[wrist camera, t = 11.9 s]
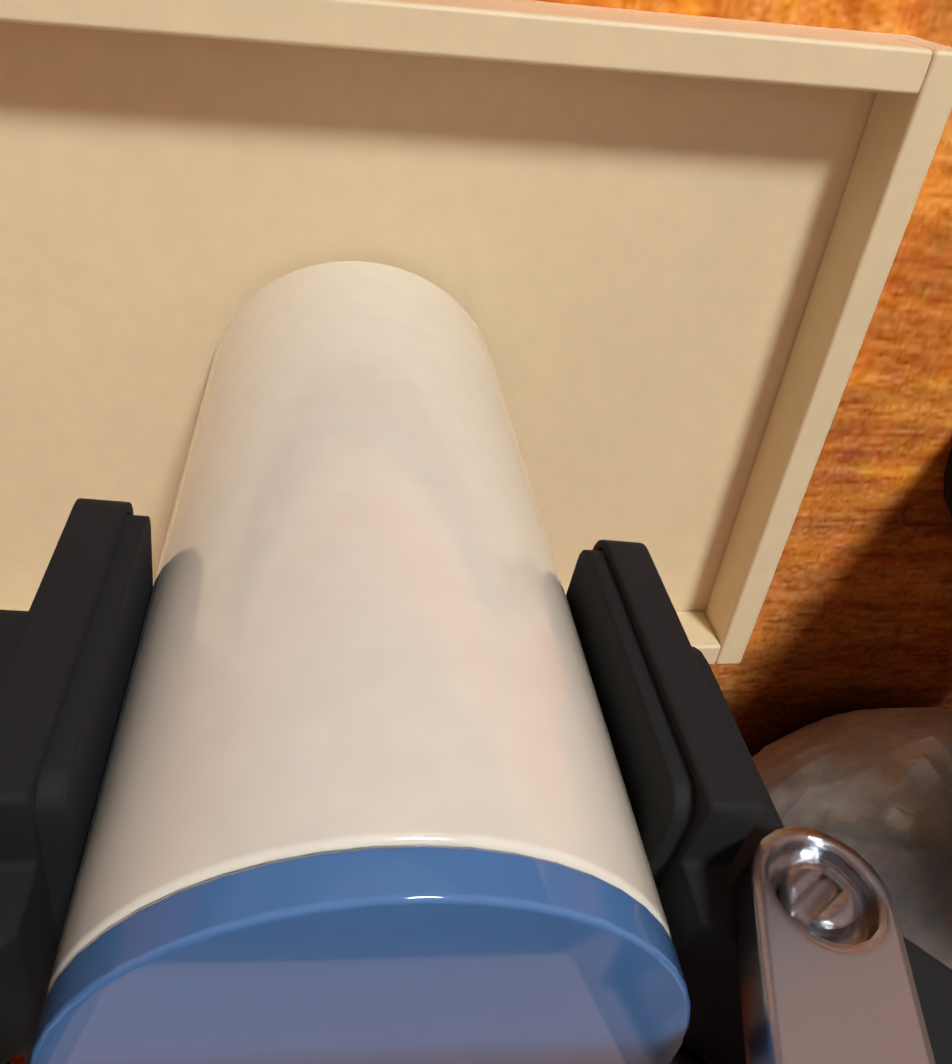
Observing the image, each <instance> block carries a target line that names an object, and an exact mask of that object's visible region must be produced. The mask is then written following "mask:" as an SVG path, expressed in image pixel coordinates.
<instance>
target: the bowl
mask: <svg viewBox="0 0 952 1064" xmlns="http://www.w3.org/2000/svg"><path fill="white" fill-rule="evenodd" d="M752 759H753V761H754V763H755V765H756V767H757V769H758V772H759V774H760V776H761V778H762V780H763V782H764V785H765V787H766V789H767V791H768V793H769V795H770V797H771V800H772V802H773V804H774V806H775V808H776V810H777V813H778V815H779V817H780V819H781V821H782V823H783V826H784V828H788V827H801V828H809V829H814V830H817V831H820V832H822V833H825V834H827V835H830V836H833V837H835V838H836V839H838V840H839V841H841V842H843V843H844V844H846V845H847V846H849V847H850V848H852V849H854V850H855V851H856V852H857V853H858V854H859V855H860V856H861V857H862V858H863V859H865V860H866V861H867V862H868V863H869V864H870V865H871V866H872V867H873V868H874V870H875V871H876V872H877V874H878V875H879V877H880V878H881V879H882V881H883V882H884V884H885V885H886V886H887V888H888V891H889V893H890V896H891V898H892V901H893V903H894V906H895V908H896V912H897V916H898V920H899V924H900V927H901V931H902V935H903V936H904V937H905V938H907V939H908V940H910V941H911V942H912V943H914V944H915V945H917V946H918V947H920V948H921V949H923V950H924V951H926V952H927V953H928V954H930V955H931V956H933V957H934V958H936V959H937V960H939V961H940V962H942V963H943V964H944V965H946V966H947V967H949V968H950V969H952V708H943V707H914V708H880V709H863V710H857V711H852V712H847V713H842V714H837V715H833V716H830V717H826V718H823V719H821V720H820V721H817V722H813V723H811V724H808V725H806V726H804V727H802V728H800V729H798V730H796V731H794V732H792V733H790V734H788V735H786V736H784V737H782V738H780V739H779V740H777V741H775V742H773V743H771V744H769V745H767V746H765V747H764V748H763V749H762V750H761V751H760V752H759V753H757V754H756V755H754V756H753V757H752Z"/></svg>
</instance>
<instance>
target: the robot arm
mask: <svg viewBox="0 0 952 1064" xmlns="http://www.w3.org/2000/svg"><path fill="white" fill-rule="evenodd" d="M152 590H153V570H152V543H151V522H150V517H149V516H141V515H134V514H133V507H132V504H131V503H130V502H123V501H111V500H98V499H86V498H79V499H77V500H76V502H75V504H74V505H73V508H72V510H71V512H70V515H69V517H68V520H67V522H66V524H65V527H64V529H63V531H62V534H61V536H60V538H59V541H58V543H57V546H56V548H55V550H54V553H53V555H52V557H51V560H50V562H49V564H48V567H47V569H46V572H45V574H44V576H43V579H42V581H41V583H40V586H39V588H38V590H37V593H36V595H35V598H34V600H33V602H32V605H31V607H30V609H29V611H18V610H0V1064H10V1060H11V1059H12V1058H13V1057H14V1056H16V1055H17V1054H18V1053H19V1052H21V1051H22V1050H23V1049H24V1048H25V1047H27V1046H28V1045H29V1044H30V1043H32V1042H33V1041H34V1038H35V1035H36V1031H37V1027H38V1023H39V1019H40V1016H41V1012H42V1008H43V1004H44V1001H45V997H46V993H47V989H48V985H49V981H50V978H51V974H52V970H53V966H54V962H55V959H56V955H57V951H58V947H59V943H60V940H61V936H62V932H63V928H64V924H65V921H66V917H67V913H68V909H69V905H70V902H71V898H72V894H73V890H74V886H75V883H76V879H77V875H78V871H79V867H80V864H81V860H82V856H83V852H84V848H85V845H86V841H87V837H88V833H89V829H90V826H91V822H92V818H93V814H94V810H95V807H96V803H97V799H98V795H99V791H100V788H101V784H102V780H103V776H104V772H105V769H106V765H107V761H108V757H109V753H110V750H111V746H112V742H113V738H114V734H115V731H116V727H117V723H118V719H119V715H120V712H121V708H122V704H123V700H124V696H125V693H126V689H127V685H128V681H129V677H130V674H131V670H132V666H133V662H134V658H135V655H136V651H137V647H138V643H139V639H140V636H141V632H142V628H143V624H144V620H145V617H146V613H147V609H148V605H149V601H150V598H151V594H152ZM566 598H567V601H568V604H569V608H570V611H571V614H572V617H573V620H574V624H575V627H576V630H577V633H578V637H579V640H580V643H581V646H582V649H583V653H584V656H585V659H586V662H587V666H588V669H589V672H590V675H591V679H592V682H593V685H594V688H595V691H596V695H597V698H598V701H599V704H600V708H601V711H602V714H603V717H604V720H605V724H606V727H607V730H608V733H609V737H610V740H611V743H612V746H613V749H614V753H615V756H616V759H617V762H618V766H619V769H620V772H621V775H622V778H623V782H624V785H625V788H626V791H627V795H628V798H629V801H630V804H631V807H632V811H633V814H634V817H635V820H636V824H637V827H638V830H639V833H640V836H641V840H642V843H643V846H644V849H645V853H646V856H647V859H648V862H649V866H650V869H651V872H652V875H653V878H654V882H655V885H656V888H657V891H658V895H659V898H660V901H661V904H662V907H663V911H664V914H665V917H666V920H667V924H668V927H669V931H670V934H671V938H672V942H673V944H674V946H675V949H676V953H677V956H678V959H679V962H680V965H681V969H682V972H683V975H684V978H685V982H686V985H687V989H688V993H689V997H690V1001H691V1005H690V1023H689V1028H688V1031H687V1034H686V1037H685V1040H684V1043H683V1045H682V1046H681V1048H680V1050H679V1051H678V1053H677V1055H676V1056H675V1058H674V1060H673V1061H672V1062H671V1064H952V969H950V968H949V967H947V966H946V965H944V964H943V963H942V962H940V961H939V960H937V959H936V958H934V957H933V956H931V955H930V954H928V953H927V952H926V951H924V950H923V949H921V948H920V947H918V946H917V945H915V944H914V943H912V942H911V941H910V940H908V939H907V938H905V937H904V936H903V935H902V931H901V927H900V924H899V920H898V916H897V912H896V908H895V906H894V903H893V901H892V898H891V896H890V893H889V891H888V888H887V886H886V885H885V884H884V882H883V881H882V879H881V878H880V877H879V875H878V874H877V872H876V871H875V870H874V868H873V867H872V866H871V865H870V864H869V863H868V862H867V861H866V860H865V859H863V858H862V857H861V856H860V855H859V854H858V853H857V852H856V851H855V850H854V849H852V848H850V847H849V846H847V845H846V844H844V843H843V842H841V841H839V840H838V839H836V838H835V837H833V836H830V835H827V834H825V833H822V832H820V831H817V830H814V829H809V828H801V827H788V828H784V826H783V823H782V821H781V819H780V817H779V815H778V813H777V810H776V808H775V806H774V804H773V802H772V800H771V797H770V795H769V793H768V791H767V789H766V787H765V785H764V782H763V780H762V778H761V776H760V774H759V772H758V769H757V767H756V765H755V763H754V761H753V759H752V756H751V754H750V752H749V750H748V748H747V746H746V743H745V741H744V739H743V737H742V735H741V733H740V730H739V728H738V726H737V724H736V722H735V720H734V718H733V715H732V713H731V711H730V709H729V707H728V705H727V702H726V700H725V698H724V696H723V694H722V692H721V689H720V687H719V685H718V683H717V681H716V679H715V676H714V674H713V672H712V670H711V668H710V666H709V664H708V661H707V660H706V658H705V657H704V655H703V653H702V652H701V651H700V650H698V649H697V648H696V647H692V646H691V644H690V642H689V640H688V637H687V635H686V633H685V631H684V628H683V626H682V624H681V622H680V620H679V617H678V615H677V613H676V611H675V609H674V606H673V604H672V602H671V600H670V597H669V595H668V593H667V591H666V589H665V586H664V584H663V582H662V580H661V577H660V575H659V573H658V571H657V569H656V566H655V564H654V562H653V560H652V558H651V555H650V553H649V551H648V549H647V547H646V546H645V545H644V544H642V543H638V542H626V541H614V540H599V541H598V542H597V543H596V544H595V545H594V548H593V550H582V552H581V553H580V555H579V557H578V560H577V563H576V566H575V569H574V572H573V575H572V578H571V581H570V584H569V587H568V590H567V593H566Z"/></svg>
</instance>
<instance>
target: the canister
mask: <svg viewBox="0 0 952 1064" xmlns="http://www.w3.org/2000/svg"><path fill="white" fill-rule="evenodd" d="M690 1005H691V1001H690V997H689V993H688V989H687V985H686V982H685V978H684V975H683V972H682V969H681V965H680V962H679V959H678V956H677V953H676V949H675V946H674V944H673V942H672V938H671V934H670V931H669V927H668V924H667V920H666V917H665V914H664V911H663V907H662V904H661V901H660V898H659V895H658V891H657V888H656V885H655V882H654V878H653V875H652V872H651V869H650V866H649V862H648V859H647V856H646V853H645V849H644V846H643V843H642V840H641V836H640V833H639V830H638V827H637V824H636V820H635V817H634V814H633V811H632V807H631V804H630V801H629V798H628V795H627V791H626V788H625V785H624V782H623V778H622V775H621V772H620V769H619V766H618V762H617V759H616V756H615V753H614V749H613V746H612V743H611V740H610V737H609V733H608V730H607V727H606V724H605V720H604V717H603V714H602V711H601V708H600V704H599V701H598V698H597V695H596V691H595V688H594V685H593V682H592V679H591V675H590V672H589V669H588V666H587V662H586V659H585V656H584V653H583V649H582V646H581V643H580V640H579V637H578V633H577V630H576V627H575V624H574V620H573V617H572V614H571V611H570V608H569V604H568V601H567V598H566V595H565V591H564V588H563V585H562V582H561V579H560V575H559V572H558V569H557V566H556V562H555V559H554V556H553V553H552V550H551V546H550V543H549V540H548V537H547V533H546V530H545V527H544V524H543V521H542V517H541V514H540V511H539V508H538V504H537V501H536V498H535V495H534V492H533V488H532V485H531V482H530V479H529V475H528V472H527V469H526V466H525V462H524V459H523V456H522V453H521V450H520V446H519V443H518V440H517V437H516V433H515V430H514V427H513V424H512V421H511V417H510V414H509V411H508V408H507V404H506V401H505V398H504V395H503V392H502V388H501V385H500V382H499V379H498V375H497V372H496V369H495V366H494V363H493V359H492V356H491V353H490V350H489V348H488V346H487V343H486V341H485V339H484V337H483V335H482V333H481V331H480V330H479V328H478V327H477V325H476V323H475V322H474V320H473V319H472V318H471V317H470V316H469V314H468V313H467V312H466V311H465V310H464V308H463V307H462V306H461V305H460V304H459V303H458V302H456V301H455V300H454V299H453V298H452V297H451V296H450V295H449V294H448V293H446V292H445V291H443V290H442V289H440V288H439V287H437V286H436V285H434V284H433V283H431V282H429V281H427V280H426V279H424V278H422V277H420V276H418V275H416V274H414V273H411V272H408V271H405V270H402V269H399V268H397V267H393V266H389V265H384V264H379V263H374V262H363V261H337V262H329V263H323V264H317V265H312V266H309V267H306V268H303V269H299V270H296V271H293V272H291V273H289V274H287V275H285V276H283V277H280V278H278V279H276V280H275V281H273V282H271V283H270V284H268V285H267V286H265V287H264V288H262V289H261V290H259V291H258V292H257V293H256V294H255V295H253V296H252V297H251V298H250V299H249V300H248V301H246V302H245V303H244V304H243V306H242V307H241V308H240V309H239V310H238V311H237V313H236V314H235V315H234V316H233V317H232V319H231V321H230V322H229V324H228V325H227V327H226V329H225V330H224V332H223V334H222V336H221V338H220V341H219V343H218V345H217V348H216V351H215V354H214V358H213V362H212V366H211V370H210V373H209V377H208V381H207V385H206V389H205V392H204V396H203V400H202V404H201V408H200V411H199V415H198V419H197V423H196V427H195V430H194V434H193V438H192V442H191V446H190V449H189V453H188V457H187V461H186V465H185V468H184V472H183V476H182V480H181V484H180V487H179V491H178V495H177V499H176V503H175V506H174V510H173V514H172V518H171V522H170V525H169V529H168V533H167V537H166V541H165V544H164V548H163V552H162V556H161V560H160V563H159V567H158V571H157V575H156V579H155V582H154V586H153V590H152V594H151V598H150V601H149V605H148V609H147V613H146V617H145V620H144V624H143V628H142V632H141V636H140V639H139V643H138V647H137V651H136V655H135V658H134V662H133V666H132V670H131V674H130V677H129V681H128V685H127V689H126V693H125V696H124V700H123V704H122V708H121V712H120V715H119V719H118V723H117V727H116V731H115V734H114V738H113V742H112V746H111V750H110V753H109V757H108V761H107V765H106V769H105V772H104V776H103V780H102V784H101V788H100V791H99V795H98V799H97V803H96V807H95V810H94V814H93V818H92V822H91V826H90V829H89V833H88V837H87V841H86V845H85V848H84V852H83V856H82V860H81V864H80V867H79V871H78V875H77V879H76V883H75V886H74V890H73V894H72V898H71V902H70V905H69V909H68V913H67V917H66V921H65V924H64V928H63V932H62V936H61V940H60V943H59V947H58V951H57V955H56V959H55V962H54V966H53V970H52V974H51V978H50V981H49V985H48V989H47V993H46V997H45V1001H44V1004H43V1008H42V1012H41V1016H40V1019H39V1023H38V1027H37V1031H36V1035H35V1038H34V1042H33V1046H32V1050H31V1054H30V1058H29V1062H28V1064H671V1062H672V1061H673V1060H674V1058H675V1056H676V1055H677V1053H678V1051H679V1050H680V1048H681V1046H682V1045H683V1043H684V1040H685V1037H686V1034H687V1031H688V1028H689V1023H690Z"/></svg>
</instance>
